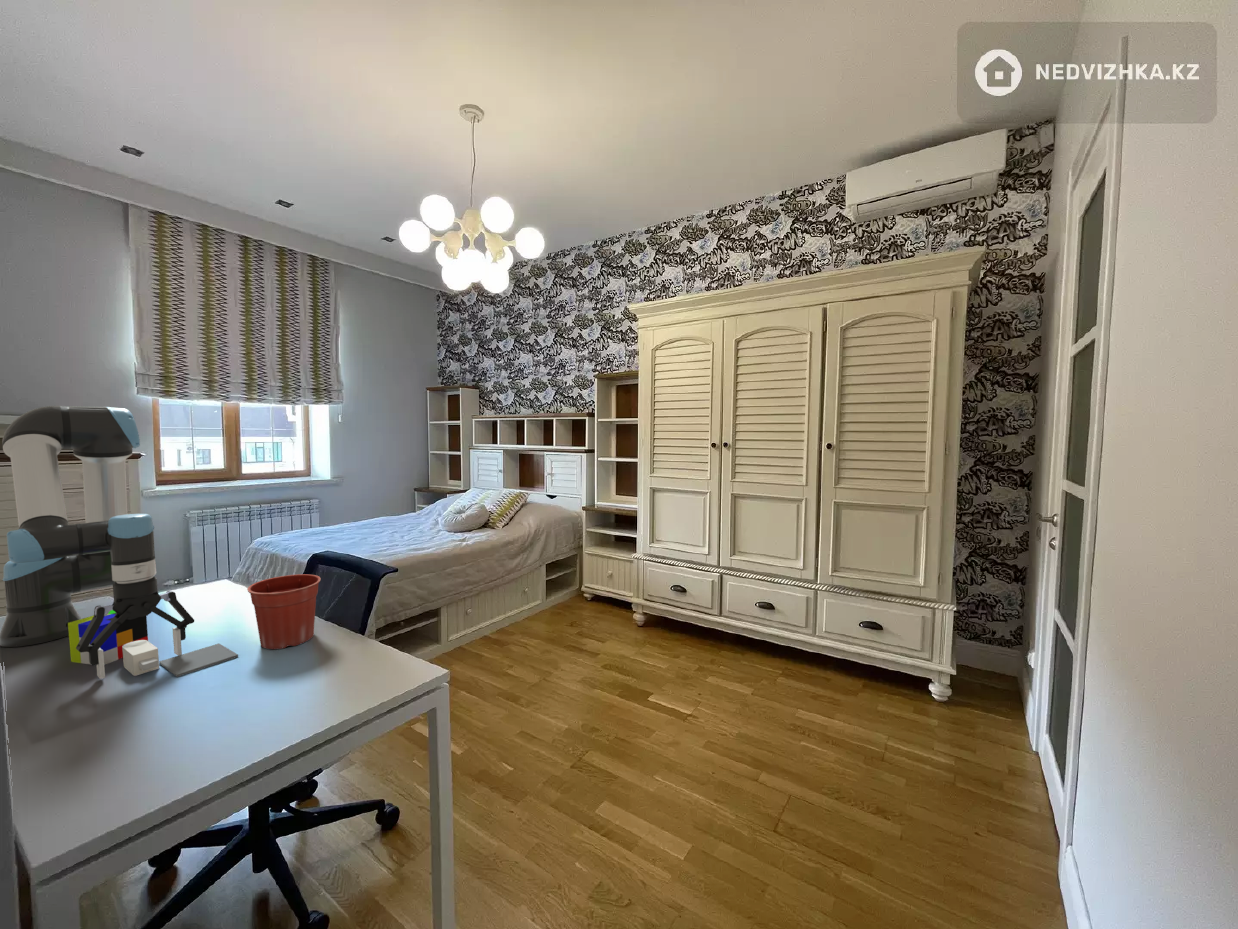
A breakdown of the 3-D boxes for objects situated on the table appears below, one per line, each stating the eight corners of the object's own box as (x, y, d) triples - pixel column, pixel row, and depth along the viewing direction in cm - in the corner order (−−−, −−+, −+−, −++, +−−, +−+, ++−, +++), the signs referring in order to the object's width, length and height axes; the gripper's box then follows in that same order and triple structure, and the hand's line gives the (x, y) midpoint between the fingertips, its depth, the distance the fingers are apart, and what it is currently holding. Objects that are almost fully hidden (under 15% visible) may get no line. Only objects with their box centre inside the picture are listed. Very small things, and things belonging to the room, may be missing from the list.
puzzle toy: (101, 666, 119) (98, 626, 118) (71, 662, 121) (67, 623, 120) (148, 648, 129) (146, 611, 128) (119, 644, 131) (116, 608, 130)
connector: (121, 664, 119) (119, 645, 119) (145, 657, 123) (144, 638, 123) (138, 680, 112) (137, 659, 112) (163, 672, 116) (162, 651, 116)
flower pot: (326, 643, 132) (323, 585, 131) (250, 660, 122) (247, 597, 121) (319, 623, 145) (317, 570, 144) (250, 637, 135) (247, 581, 134)
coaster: (159, 663, 120) (159, 661, 120) (219, 645, 130) (219, 643, 130) (177, 677, 114) (176, 674, 114) (238, 656, 124) (238, 654, 124)
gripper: (60, 596, 104) (68, 692, 105) (206, 568, 125) (211, 648, 126) (52, 591, 108) (60, 683, 109) (195, 564, 129) (200, 642, 130)
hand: (141, 665), depth 118 cm, fingers open, 13 cm apart
